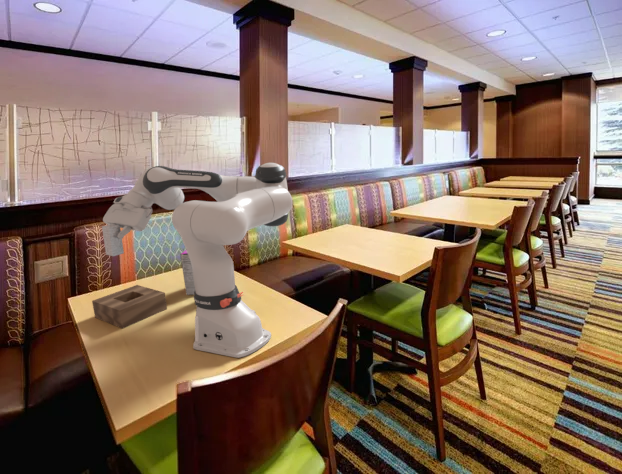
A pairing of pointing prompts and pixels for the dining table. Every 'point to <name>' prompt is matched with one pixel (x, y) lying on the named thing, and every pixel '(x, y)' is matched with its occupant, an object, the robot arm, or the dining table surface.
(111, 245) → the peg
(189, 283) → the candy bar box
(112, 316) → the post socket
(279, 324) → the dining table surface
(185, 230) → the robot arm
